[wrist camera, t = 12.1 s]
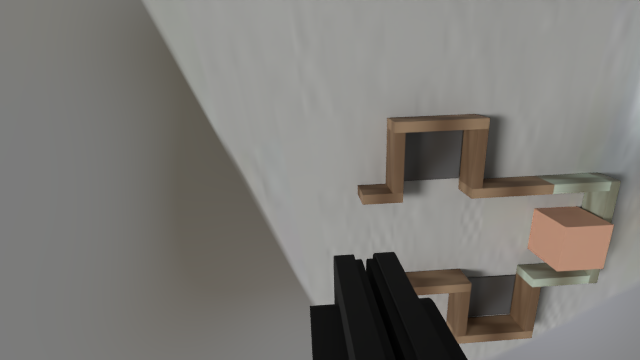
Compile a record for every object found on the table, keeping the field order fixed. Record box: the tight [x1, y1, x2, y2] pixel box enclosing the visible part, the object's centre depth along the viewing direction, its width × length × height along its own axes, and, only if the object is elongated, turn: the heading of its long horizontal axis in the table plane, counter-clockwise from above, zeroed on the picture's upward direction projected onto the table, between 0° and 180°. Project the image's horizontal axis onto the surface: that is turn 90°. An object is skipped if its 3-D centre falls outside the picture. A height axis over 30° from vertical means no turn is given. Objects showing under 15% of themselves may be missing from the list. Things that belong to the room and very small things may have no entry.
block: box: [528, 206, 614, 271], centre depth 39 cm, size 5×5×5 cm
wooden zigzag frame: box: [358, 114, 621, 344], centre depth 39 cm, size 26×26×3 cm
